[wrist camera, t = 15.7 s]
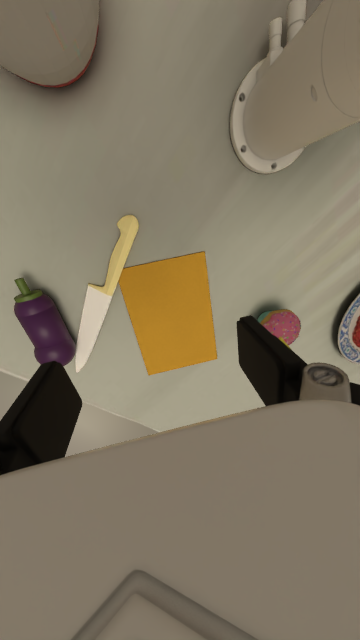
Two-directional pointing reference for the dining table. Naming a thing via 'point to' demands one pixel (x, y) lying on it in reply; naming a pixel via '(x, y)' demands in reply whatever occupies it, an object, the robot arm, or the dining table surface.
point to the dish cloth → (170, 311)
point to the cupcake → (281, 324)
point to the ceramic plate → (350, 332)
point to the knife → (103, 292)
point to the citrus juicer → (48, 39)
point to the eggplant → (43, 325)
